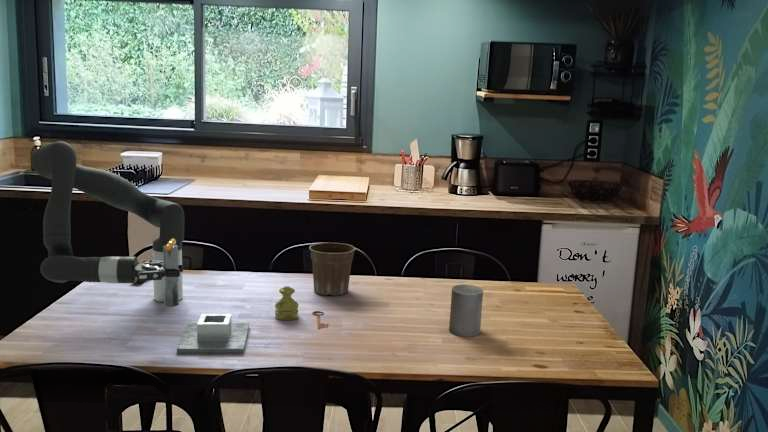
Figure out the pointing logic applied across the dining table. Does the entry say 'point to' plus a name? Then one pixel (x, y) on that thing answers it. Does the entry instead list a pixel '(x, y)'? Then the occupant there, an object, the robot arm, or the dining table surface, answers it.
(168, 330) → the dining table surface
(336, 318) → the dining table surface
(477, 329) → the pillar candle
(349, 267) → the plant pot
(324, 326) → the key
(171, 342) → the dining table surface
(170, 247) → the silver grey upright block
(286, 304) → the green scale weight
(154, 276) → the robot arm
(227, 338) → the candle holder
